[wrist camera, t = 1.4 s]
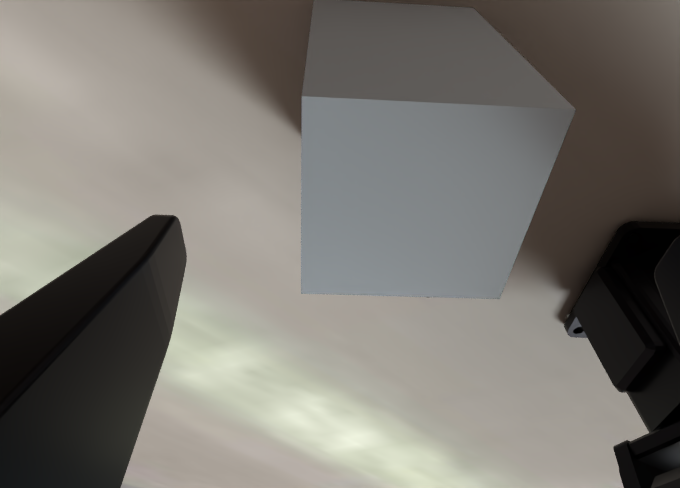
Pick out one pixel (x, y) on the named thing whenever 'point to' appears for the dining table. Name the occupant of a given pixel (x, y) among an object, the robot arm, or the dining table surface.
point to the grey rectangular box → (419, 151)
